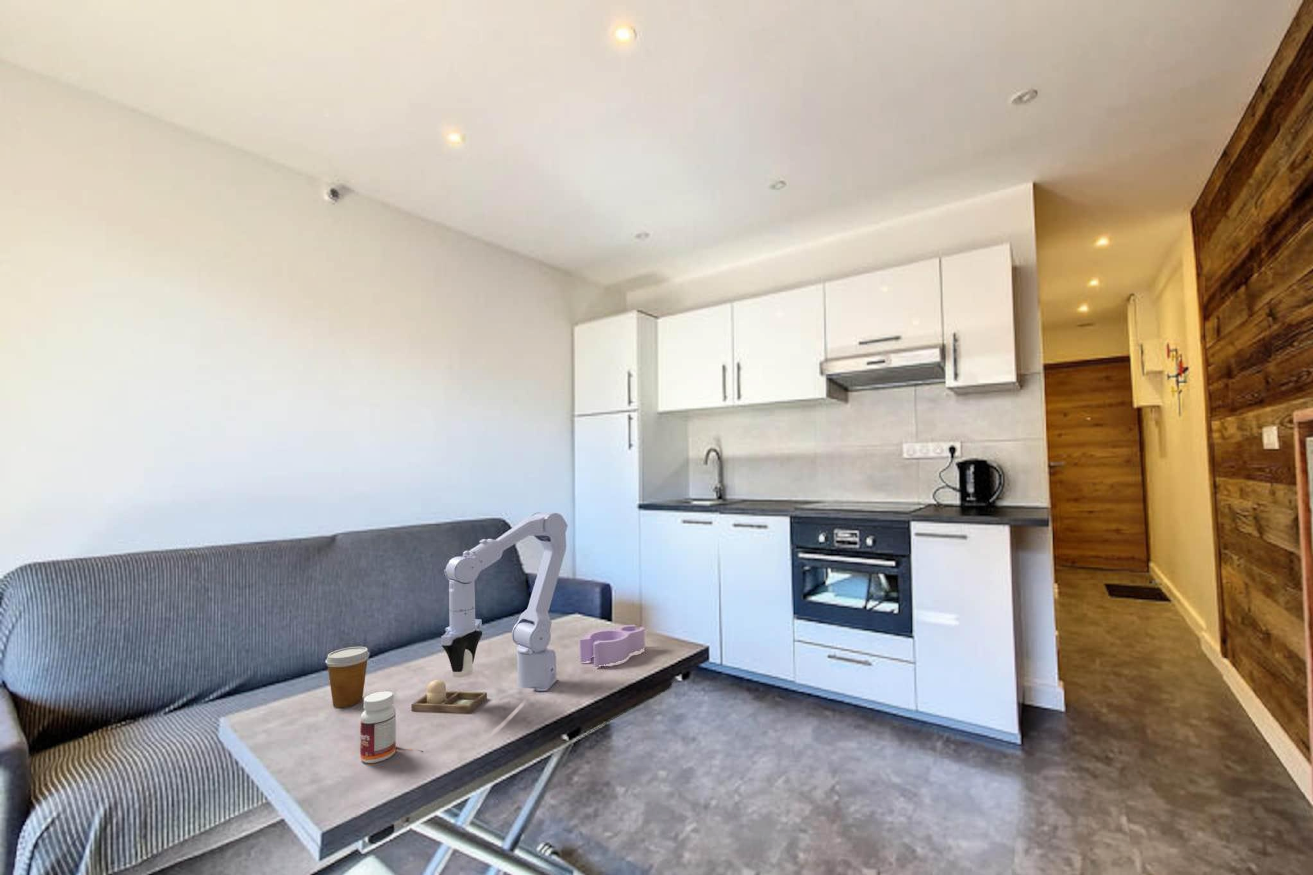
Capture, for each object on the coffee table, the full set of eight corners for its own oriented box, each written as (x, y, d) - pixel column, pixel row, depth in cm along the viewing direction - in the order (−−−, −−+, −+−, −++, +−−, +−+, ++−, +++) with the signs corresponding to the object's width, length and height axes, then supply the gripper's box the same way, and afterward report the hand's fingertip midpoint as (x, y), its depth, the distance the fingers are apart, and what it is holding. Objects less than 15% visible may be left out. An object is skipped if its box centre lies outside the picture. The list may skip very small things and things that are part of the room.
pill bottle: (355, 757, 105) (355, 697, 106) (387, 744, 110) (387, 687, 111) (368, 767, 101) (368, 705, 102) (401, 754, 106) (401, 694, 107)
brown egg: (449, 700, 129) (449, 677, 130) (439, 708, 125) (439, 683, 126) (433, 700, 130) (433, 676, 130) (423, 707, 126) (423, 683, 126)
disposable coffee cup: (378, 697, 135) (378, 648, 136) (342, 713, 127) (342, 660, 127) (352, 692, 139) (352, 644, 140) (316, 707, 131) (316, 656, 131)
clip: (626, 645, 170) (625, 622, 170) (654, 653, 161) (653, 629, 162) (574, 662, 156) (573, 637, 157) (601, 672, 147) (600, 646, 148)
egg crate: (487, 701, 130) (486, 692, 130) (469, 716, 122) (469, 706, 122) (431, 699, 132) (431, 690, 132) (411, 714, 124) (411, 704, 124)
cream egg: (459, 670, 130) (459, 646, 130) (476, 670, 129) (475, 646, 129) (448, 676, 125) (448, 652, 126) (465, 677, 124) (465, 652, 125)
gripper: (462, 601, 136) (463, 656, 135) (428, 616, 122) (429, 678, 121) (489, 601, 135) (490, 657, 134) (457, 616, 120) (458, 679, 119)
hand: (463, 667), depth 127 cm, fingers closed on cream egg, 4 cm apart
